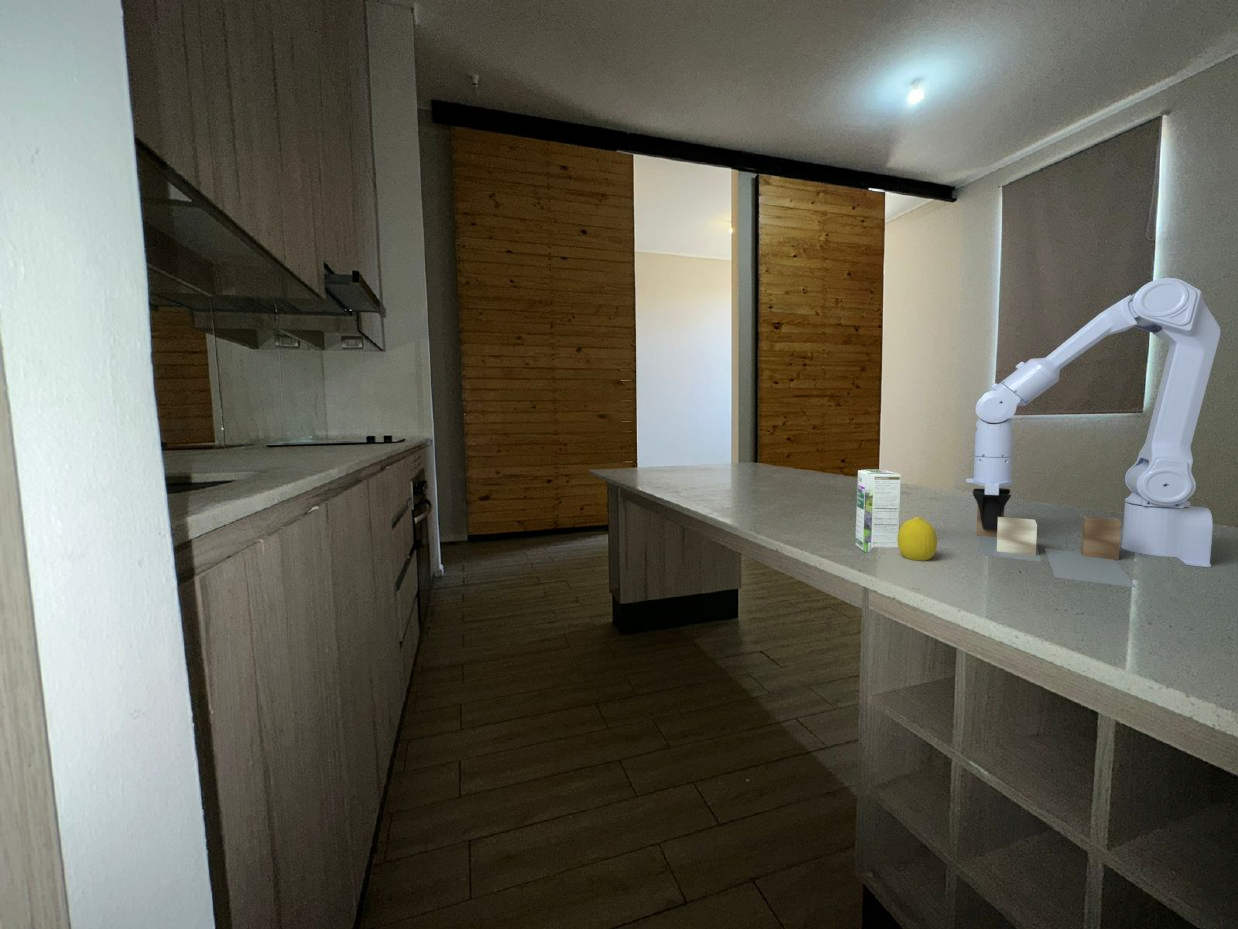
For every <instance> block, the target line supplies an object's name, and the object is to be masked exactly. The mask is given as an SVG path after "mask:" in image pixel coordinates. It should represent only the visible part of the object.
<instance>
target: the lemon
mask: <svg viewBox="0 0 1238 929" xmlns="http://www.w3.org/2000/svg"><path fill="white" fill-rule="evenodd" d="M897 542H898V547H897V548H898V550H899V552H900V554H901V555H902V556H903V557H904V558H905V559H907V560H911V561H917V562H921V561H922V562H924V561H928V560H930V559H931V558H932V557H933V556H934V555H935V553H936V552H937V546H938V538H937V533H936V529H935V528H934V527H933V526H932V524H931V523H929V522H928V521H927V520H925V519H922V518H921V516H915V517H914V518H911V519H908V520H906V521H904V522H903V524H901V525H900V526H899V532H898V538H897Z"/></svg>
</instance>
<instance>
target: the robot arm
mask: <svg viewBox="0 0 1238 929" xmlns="http://www.w3.org/2000/svg"><path fill="white" fill-rule="evenodd" d="M1131 328H1136V329H1139V330H1142V331H1144V332H1145V331H1146V332H1148V333H1151V334H1152V335H1154V336H1155V337H1157V338H1158V339H1159V340H1162V342H1164V343H1165V344H1167V346H1168V351H1167V355H1166V359H1165V362H1164V367H1163V372H1162V375H1161V378H1160V379H1161V380H1160V384H1159V387H1158V392H1157V396H1156V400H1155V402H1154V405H1153V406H1154V407H1153V411H1152V415H1151V418H1150V422H1149V426H1148V427H1149V428H1148V429H1147V430H1148V431H1147V435H1146V439H1145V442H1144V445H1142V448H1140V451H1139V453H1138V457H1137V460H1136V461H1135V463H1134V464H1133V465H1132V466H1131V467H1129V469H1128V470H1127V471H1126V473H1125V476H1124V484H1125V485H1126V488H1128V490H1130V491H1131V493H1130V495H1129V496H1128V497H1126V498H1124V510H1123V511H1124V512H1123V523H1122V524H1123V526H1122V541H1121V543H1122V544H1121V548H1122V549H1123V550H1126V551H1129V552H1133V553H1137V554H1144V555H1150V556H1155V557H1156V556H1158V557H1167V558H1168V557H1171V558H1172V557H1173V558H1178V559H1179V560H1180V561H1182V562H1183V564H1185V565H1186V566H1192V567H1201V568H1202V567H1203V568H1212V564H1211V552H1212V542H1213V541H1212V540H1213V530H1214V527H1213V526H1214V522H1213V515H1212V512H1211V510H1210V508H1208V507H1205V506H1194V505H1191V501H1189V500H1188V499H1190V498H1191V497H1193V495H1194V493H1195V491H1196V489H1197V488H1196V486H1197V484H1196V483H1197V482H1196V479H1195V477H1194V475H1193V473H1192V471H1193V470H1192V468H1193V463H1194V458H1193V454H1192V443H1193V440H1194V435H1195V432H1196V427H1197V424H1198V420H1199V417H1200V414H1201V413H1200V412H1201V410H1202V409H1201V408H1202V405H1203V402H1204V398H1205V395H1206V390H1207V387H1208V386H1207V385H1208V382H1209V379H1210V375H1211V372H1212V366H1213V364H1214V360H1215V357H1216V353H1217V349H1218V345H1219V342H1220V337H1221V326H1219V324H1218V322H1217V320H1216V319H1215V317H1214V316H1213V314H1212V312H1211V310H1210V309H1209V308H1208V306H1207V304H1206V302H1205V301H1204V298H1203V292H1202V290H1200V289H1199V288H1197V287H1195V286H1193V285H1192V284H1190V283H1188V282H1187V281H1184V280H1182V279H1180V278H1174V277H1163V278H1162V277H1161V278H1158V279H1154V280H1151V281H1150V282H1147V283H1145V284H1144V285H1143V286H1141V287H1140V288H1139V289H1138V290H1137V291H1136V292H1135V293H1133V294H1129V295H1128V296H1126V297H1124V298H1122V299H1120V300H1119V301H1118V302H1116V303H1114V304H1112V305H1111V306H1109V307H1108V308H1106V309H1105V310H1103V311H1102V312H1100V313H1099V314H1097V315H1096V316H1095V317H1094V318H1093V319H1092V320H1090V321H1089V322H1088V323H1086V324H1085V325H1084V326H1083V327H1081V328H1080V329H1079V330H1078V331H1077V332H1075V333H1073V335H1072V336H1070V337H1068V339H1066V340H1065V341H1064V342H1063V343H1062V344H1061V345H1059V346H1058V347H1057V348H1056V349H1054V350H1053V351H1052V352H1051V353H1049V354H1048V355H1047V356H1045V357H1040V358H1039V357H1038V358H1037V357H1036V358H1030V359H1028V361H1026V362H1024V361H1021V362H1019V363H1018V364H1017V365H1015V371H1014V372H1012V373H1010V374H1009V375H1008V376H1007V377H1006V378H1004V379H1003V380H1002V381H1001V382H999V383H994V384H993V385H992V386H991V389H992V390H990V391H987V392H985V393H984V394H983V395H982V396H981V397H980V398H979V399H977V400H978V401H977V402H976V405H975V408H974V409H975V414H976V416H977V417H978V418H977V421H976V423H975V429H976V431H975V432H974V453H973V454H974V456H973V477H972V478H970V477H966V478H965V483H968V484H974V485H976V486H980V487H982V488H974V489H973V490H972V496H973V497H974V499H975V502H976V503H977V508H978V507H979V510H980V516H981V523H982V527H983V529H986V530H997V523H998V517H1001V515H1002V512H1003V509H1004V510H1005V508H1006V507H1005V506H1006V505H1007V503H1008V502H1009V500H1010V499H1011V497H1012V495H1011V489H1010V488H1006V487H1010V486H1012V485H1013V484H1014V483H1013V482H1014V481H1013V479H1012V473H1013V471H1012V470H1013V451H1014V450H1013V449H1014V431H1013V427H1012V426H1013V419H1012V418H1013V417H1014V416H1015V414H1016V411H1017V407H1025V406H1027V404H1029V403H1030V402H1032V401H1034V400H1035V399H1036V398H1038V397H1039V396H1040V395H1042V394H1043V393H1044V392H1046V391H1047V390H1048V389H1050V388H1051V387H1052V386H1054V385H1055V384H1056V383H1058V382H1059V381H1060V373H1061V369H1063V368H1064V367H1066V366H1067V365H1069V363H1071V362H1073V361H1074V360H1075V359H1077V358H1078V357H1079V356H1081V355H1082V354H1083V353H1085V352H1086V351H1087V350H1089V349H1091V348H1092V347H1093V346H1095V345H1097V343H1099V342H1100V341H1102V340H1103V339H1104V338H1106V337H1108V336H1110V335H1114V334H1118V333H1119V334H1120V333H1123V332H1126V331H1128V330H1130V329H1131Z"/></svg>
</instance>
